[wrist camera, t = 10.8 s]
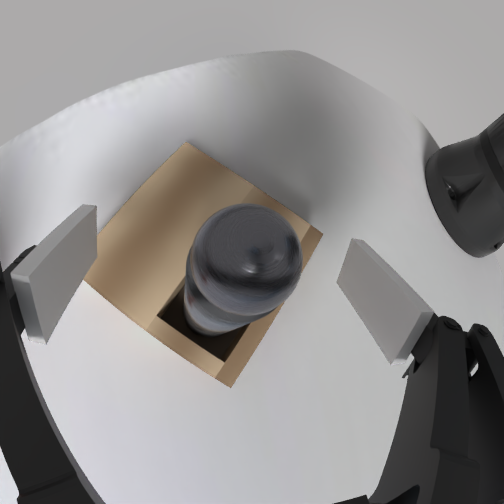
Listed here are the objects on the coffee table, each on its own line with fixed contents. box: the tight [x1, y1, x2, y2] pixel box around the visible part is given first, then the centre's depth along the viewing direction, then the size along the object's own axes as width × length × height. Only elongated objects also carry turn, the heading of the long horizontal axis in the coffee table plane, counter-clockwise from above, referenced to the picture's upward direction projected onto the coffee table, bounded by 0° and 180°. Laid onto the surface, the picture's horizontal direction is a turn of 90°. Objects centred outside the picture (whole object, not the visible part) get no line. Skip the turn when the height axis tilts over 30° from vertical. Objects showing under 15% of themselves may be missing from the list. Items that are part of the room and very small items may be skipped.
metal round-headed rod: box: [183, 203, 303, 337], centre depth 13 cm, size 3×3×14 cm
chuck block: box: [83, 142, 323, 388], centre depth 20 cm, size 12×12×3 cm
